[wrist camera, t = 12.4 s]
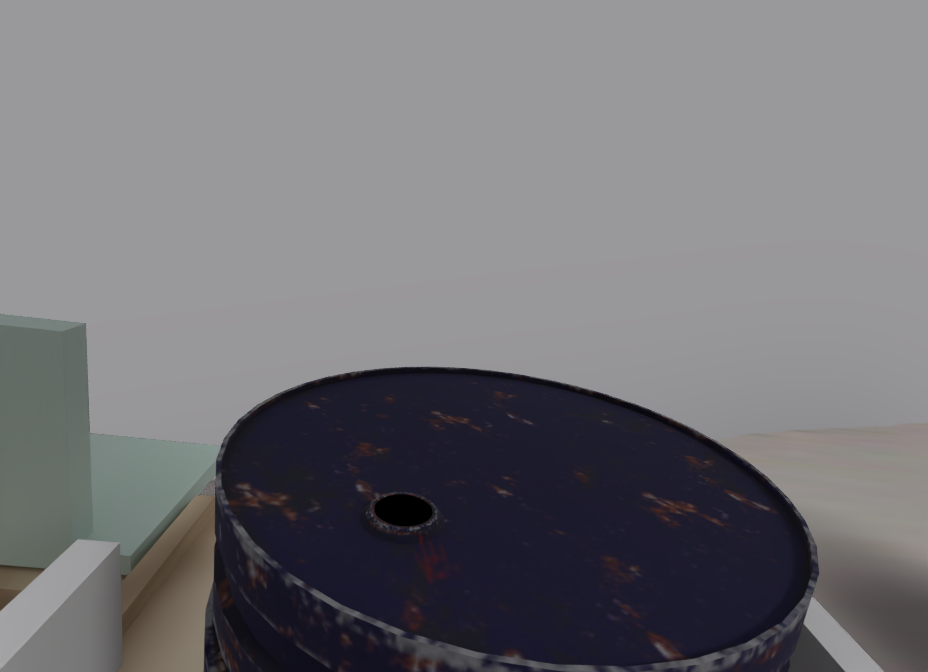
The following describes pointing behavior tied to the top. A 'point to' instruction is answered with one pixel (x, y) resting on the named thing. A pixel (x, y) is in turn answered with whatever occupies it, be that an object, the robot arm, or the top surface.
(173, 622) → the puzzle board
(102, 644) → the robot arm
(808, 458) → the top surface
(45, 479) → the cover
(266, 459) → the dark blue barrel
